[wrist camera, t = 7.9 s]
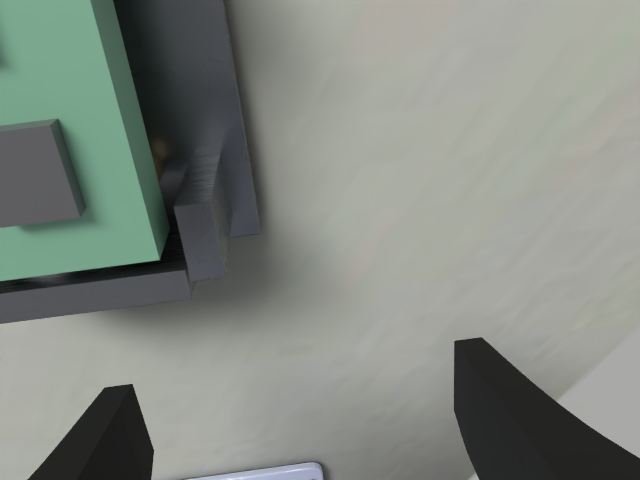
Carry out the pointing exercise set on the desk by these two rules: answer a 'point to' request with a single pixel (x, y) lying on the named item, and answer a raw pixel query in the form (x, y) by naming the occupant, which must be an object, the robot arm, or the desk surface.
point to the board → (72, 144)
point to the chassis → (169, 165)
